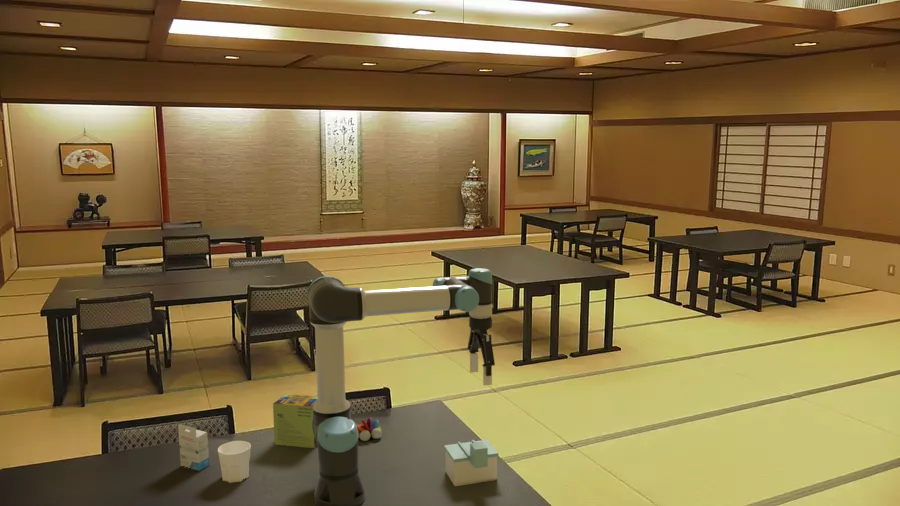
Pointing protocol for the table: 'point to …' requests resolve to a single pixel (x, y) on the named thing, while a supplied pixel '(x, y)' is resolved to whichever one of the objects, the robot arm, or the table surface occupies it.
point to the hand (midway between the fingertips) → (480, 378)
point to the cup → (234, 460)
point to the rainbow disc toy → (369, 429)
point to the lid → (472, 452)
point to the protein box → (294, 420)
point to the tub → (470, 471)
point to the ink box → (193, 448)
